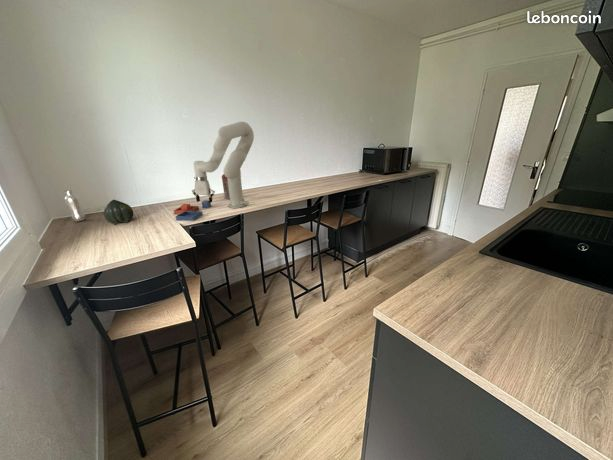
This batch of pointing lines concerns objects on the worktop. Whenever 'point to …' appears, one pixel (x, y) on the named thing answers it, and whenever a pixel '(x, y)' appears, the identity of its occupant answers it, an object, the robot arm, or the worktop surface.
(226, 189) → the juice carton
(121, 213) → the squash
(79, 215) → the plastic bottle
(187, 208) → the terracotta block
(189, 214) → the blue tray
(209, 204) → the blue block
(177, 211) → the terracotta tray
